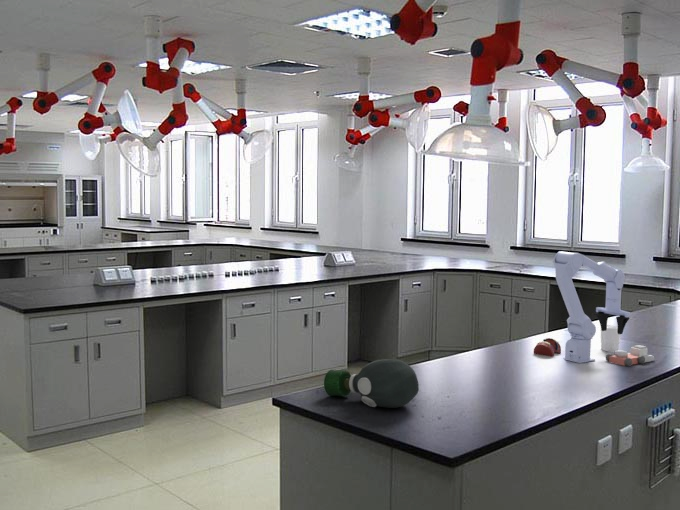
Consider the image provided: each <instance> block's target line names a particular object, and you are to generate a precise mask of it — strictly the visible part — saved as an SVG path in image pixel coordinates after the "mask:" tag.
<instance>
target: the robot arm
mask: <svg viewBox="0 0 680 510" xmlns="http://www.w3.org/2000/svg"><path fill="white" fill-rule="evenodd" d="M552 263H553V266H554V268H555V280H556V283H557V286H558V288H559V291H560V293H561V296H562V300H563V301H564V305H565V307H566V309H567V313H568V315H569V316H568V318H567V319H566V322H567V323H566V324H567V332H568V333H569V334H570V335H569V336H570V338H569V339H568V340H566V342H565V349H564V350H565V352H564V357H563V359H562V360H565V361H569V362H570V361H571V362H573V363H577V364H581V363H588V362H594V361H596V359H595V358H592V357H591V347H592V346H591V345H592V344H591V343H592V340H593V337H594V336H595V334H596V333H597V332H596V331H597V327H596V325H595V323H593V322H592V320H591V318H590V317H589V316H588V315H587V314H585V312H584V310H583V306H582V304H581V301H580V298H579V295H578V293H577V292H578V291H576V287H575V284H574V282H573V277H575V276H576V275H577V273H578V271H579V270H580V269H581V267H583V268H586V269H589V270H591V271H592V274H593V275H594V276H596V277H598V278H601V279H602V280H603V281H604V283H605V285H606V286H605V287H606V288H605V307H601V306H600V307H599V306H597V307H595V312H596V317H597V319H598V321H599V322H598V323H599V326H600V331H601V330H602V331H606V329H607V325H608V319H609V316H610V315H613V316H616V317H615V319H616V323H617V325H616V326H618V330H617V332H618V334H620V335H623V332H624V329H625V327H626V325H627V323H628V322H629V320H630V317H631V312H629V311H627V310H622V309H621V304H622V303H621V302H622V289H623V288H624V283H625V280H626V278H627V277H626V276H625V273H624V271H623V270H621V269H616V268H615V267H614V266H612V265H611V266H610V265H609V264H607V262H606V261H598V262H596V261H595V260H592V259H590V257H587V256H585V254H582V253H579V252H570V251H569V252H568V251H562V250H561V251H560V250H559V251H558V252H557V253H556V254H555V255H554V257H553V260H552Z"/></svg>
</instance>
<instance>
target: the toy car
mask: <svg viewBox="0 0 680 510" xmlns="http://www.w3.org/2000/svg"><path fill="white" fill-rule="evenodd" d="M605 360H606V362H609V363H612V364H614V365H615V364H616V365H619V366H624V367H630V366H632V365H636V364H641V365H643V364H644V363H649V362H654V361H655V356H654V355H653V354H647V356H636V355H631V354H630V352H628V351H626V350H620V349H619V350H617V351H616V352H614V355H613V354H612V353H606V355H605Z"/></svg>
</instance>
